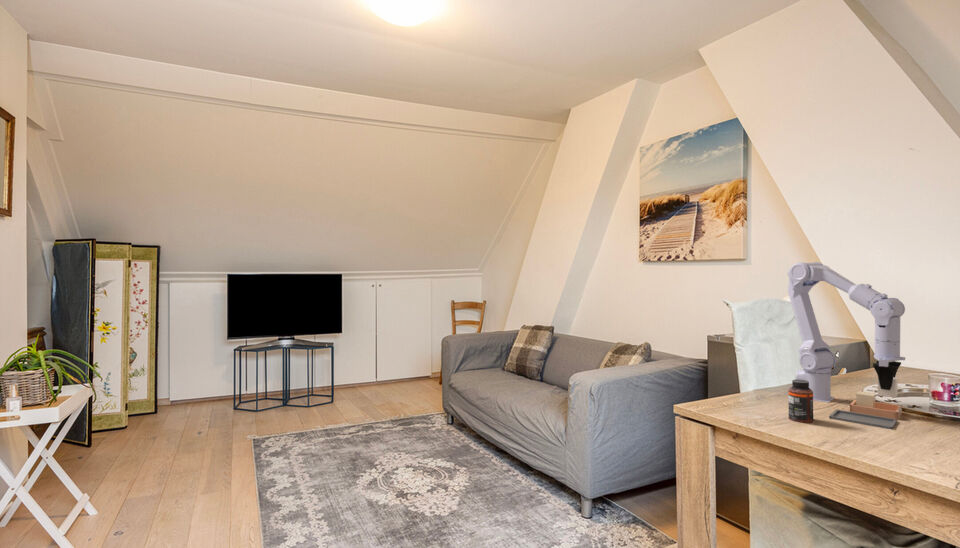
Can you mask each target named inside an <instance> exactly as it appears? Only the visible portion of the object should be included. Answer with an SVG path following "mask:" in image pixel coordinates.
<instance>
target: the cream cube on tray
mask: <svg viewBox="0 0 960 548" xmlns="http://www.w3.org/2000/svg"><path fill="white" fill-rule="evenodd" d="M877 396H881V397H888V398H893V399H894V398H896V397H897V396H898V377H896V376H895V377H893V382H892V387H891V389H890V390H885V389H881V387H880V383H879V379H878V378H877Z"/></svg>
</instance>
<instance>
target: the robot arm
mask: <svg viewBox="0 0 960 548" xmlns="http://www.w3.org/2000/svg"><path fill="white" fill-rule="evenodd" d="M787 276H788V285H787V292H788V296H789V300H790V304H791V307H792V310H793V313H794V316H795V320H796V324H797V327H798V331H799V335H800V338H801V342H802V343H801V345H800V347H799V348H798V352H799V358H798V359H799V360H798V362H799V365H800V367H801V368H802V369H796V372H795V378H794V380H796V379H800V380H806V381H808V382H809V388H810V389H811V390H812V391H813V401H815V402H823V403H831V401H833V400H834V399H835V396H831V395H832V394H831V390H832V388H831V384H832V383H831V381H832V380H831V379H832V373H831V372H832V369H833V367H835V366H836V363H837V359H836V358H837V357H836V355H835V354H834V353H833V352H832V350H831V349H830V346H829V344H828V343H826V342H825V341H824V340H823V338H822V335H821V334H822V333H821V332H820V329H819V325H818V322H817V318H816V314H815V312H814V307H813V305H812V301H811V298H810V295H809V293H810V291H811V290H812V288H813V287H815V286H816V285H817V284H818V283H819V282H825V283H826V284H830V285H831V286H833V287H835V288H837V289H839V290H840V291H843V292H844V293H847V294H848V298H849V300H851V301H852V302H854V303H856V304H858V305H859V306H861V307H863V308H864V309H866V310H868V311H869V312H870V314H871V315H872V317H874V354H873V358H874V359H875V360H877V361H876V362H874V363H872V367H873V369H874V370H875V372H876V375H877V380H878V379H879V383H880V387H881V389H885V390H890V389H891V387H892V382H893V377H896V375H897V372H898V370H899V369H900V367H901V365H902V362H901V361H906V357H905V356H901V317H902V316H903V315H904V314H905V312H906V307H905V304H904V303H903V302H902V301H901V300H899V298H897V297H889V296H888V294H887V293H881V292H879V291H877V290H876V289H874V288H873V285H871V284H869V283H865V284H864V283H859V284H856V283H854V282H853V281H851V280H850V279H848V278H846V277H844V276H843V275H841V274H840V273H838V272H837V271H835V270H833V269H831V267H830V266H828V265H825V264H823V263H821V262H818V261H815V262H799V261H798V262H796V263H794V264H793V265H792V266H791V267H790V268H789V270H788V271H787Z"/></svg>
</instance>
